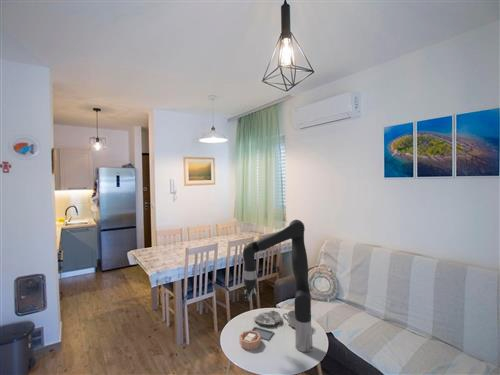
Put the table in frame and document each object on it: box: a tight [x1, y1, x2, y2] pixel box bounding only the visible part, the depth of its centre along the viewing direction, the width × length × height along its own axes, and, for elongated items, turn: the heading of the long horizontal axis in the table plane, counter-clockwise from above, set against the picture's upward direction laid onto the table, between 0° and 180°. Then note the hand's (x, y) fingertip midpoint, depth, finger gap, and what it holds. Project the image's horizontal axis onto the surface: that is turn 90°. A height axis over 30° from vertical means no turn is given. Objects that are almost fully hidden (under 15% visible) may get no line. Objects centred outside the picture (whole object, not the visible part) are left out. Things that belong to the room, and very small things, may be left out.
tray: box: [251, 326, 275, 342], centre depth 169 cm, size 14×9×1 cm, turn 62°
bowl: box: [238, 329, 262, 351], centre depth 160 cm, size 12×12×5 cm
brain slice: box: [253, 310, 282, 327], centre depth 185 cm, size 20×17×3 cm
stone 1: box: [244, 336, 253, 342], centre depth 158 cm, size 4×3×4 cm
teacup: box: [282, 309, 295, 329], centre depth 179 cm, size 14×11×8 cm
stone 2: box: [247, 333, 256, 341], centre depth 161 cm, size 4×3×4 cm
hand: (250, 303), depth 161 cm, fingers open, 8 cm apart
